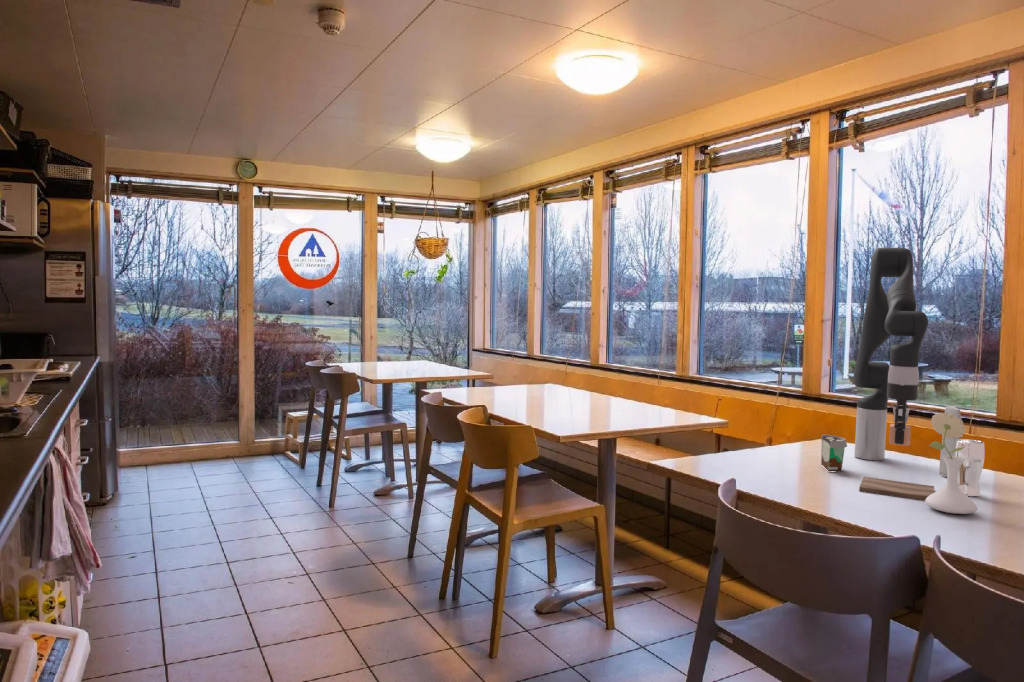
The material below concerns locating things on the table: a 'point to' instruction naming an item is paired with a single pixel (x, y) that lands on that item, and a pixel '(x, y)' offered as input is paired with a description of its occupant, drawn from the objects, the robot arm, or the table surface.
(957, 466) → the flower in vase
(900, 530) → the table surface
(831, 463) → the food container
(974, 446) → the beer glass
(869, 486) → the walnut board
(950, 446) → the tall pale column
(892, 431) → the terracotta cube
